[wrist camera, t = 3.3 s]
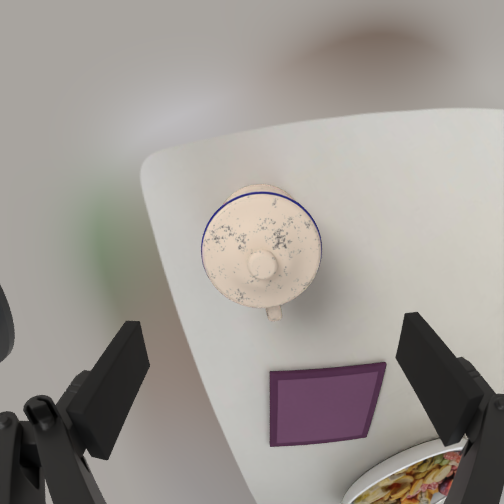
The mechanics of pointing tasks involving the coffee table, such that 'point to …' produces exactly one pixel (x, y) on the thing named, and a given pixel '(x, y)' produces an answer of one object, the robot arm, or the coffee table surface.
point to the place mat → (323, 404)
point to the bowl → (409, 476)
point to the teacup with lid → (261, 248)
